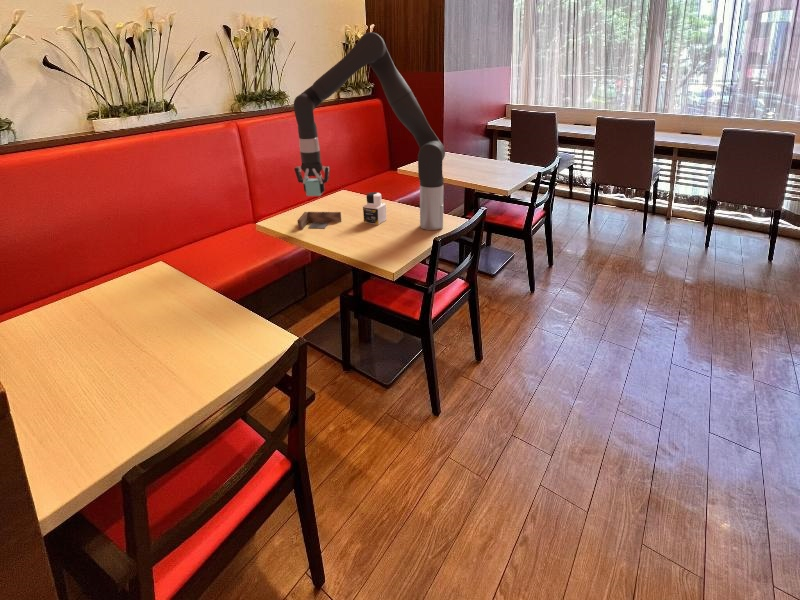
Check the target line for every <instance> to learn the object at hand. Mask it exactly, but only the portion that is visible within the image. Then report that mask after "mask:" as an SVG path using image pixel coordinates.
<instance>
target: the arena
mask: <svg viewBox="0 0 800 600" xmlns="http://www.w3.org/2000/svg"><path fill="white" fill-rule="evenodd" d="M296 221H297V228H298V230H299V231H303V230H304V228H305V227H306V226H307V224H308V223H309V222H311V224H310V225H309V226H308V229H320V230H321V229H326V228H327V226H328V225H329V222H330V223H332V222H335V223H341V222H342V212H341V211H304V212H303V213H302V214H301V216H300V217H299V218H297V220H296Z"/></svg>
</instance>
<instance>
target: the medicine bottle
mask: <svg viewBox="0 0 800 600" xmlns="http://www.w3.org/2000/svg"><path fill="white" fill-rule="evenodd" d="M362 210H363V211H362V213H363V214H362V215H363V222H364V224H370V225H375V226H376V225H378V226H379V225H381V224H382V223H384V222H385V221H386V220H387V203H384V202H383V203H382V194H381V193H380V192H377V191H373V192H368V193H366V204H365V205H362Z"/></svg>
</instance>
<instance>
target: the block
mask: <svg viewBox="0 0 800 600" xmlns="http://www.w3.org/2000/svg"><path fill="white" fill-rule="evenodd" d="M305 188H306V192H305V193H306V194H305V195H306V197H321V196H322V195H323V193H321V190H320V182H319V180H318V179H317V178H308V180H307V181H306V182H305Z"/></svg>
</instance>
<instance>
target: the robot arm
mask: <svg viewBox="0 0 800 600" xmlns="http://www.w3.org/2000/svg"><path fill="white" fill-rule="evenodd" d="M367 65H369V66H370V68H371V69H372V70H373V72H374V73H375V76H376V77H377V78H378V80H379V83H380V85H381V87H382V90H383V93H384V95H385V97H386V100H387V102H388V104H389V107H391V110H392V111H393V113H394V114H395V116H396V118H397V119H398V120H399V121H400V123H401V124H402V125H403V126H404V127H405V129H407V130H408V131H409V132H410V133H411V135H412V136H413V138H414V139H415V142H416V143H417V145H418V147H419V151H418V155H417V168H418V171H417V173H418V179H419V218H420V219H419V225H420V228H421V229H423V230H427V231H436V230H442V229H443V228H444V181H445V180H444V175H443V161H444V158H445V157H446V151H445V146H444V144H443V143H442V142H441V140H440V139H439V137H438V136H437V135H436V133H435V131H434V130H433V129H432V127H431V126H430V123H429V121H428V120H427V117H426V116H425V114H424V112H423V109H422V108H421V106H420V104H419V102H418V100H417V97H415V95H414V92H413V91H412V89H411V88H410V86H409V84H408V83H407V81H406V80H405V78H404V77H403V76H402V74H401V73H400V72H399V70H398V69H397V67H396V66H395V64H394V61H393V59H392V57H391V54H390V52H389V51H388V48H387V45H386V43H385V40H384V38H383V37H382V36H381V35H379V33H377V32H373V31H372V32H371V31H370V32H369V31H368V32H366V33H364V34H363V35H362V36H361V37H360V39H359V40H358V41H357V42H356V44H354V46H353V47H352V48H351V49H350V51H348V53H347V54H346V55H345V56H344V57H343V58H341V60H340V61H338V62H337V63H336V64H334V66H331V68H329V70H327V71H326V72H325V73H324V74H322V75H321V76H320V77H318V78H317V79H316V80H315V82H313V83H312V85H311V86H309V87H308V88H307V89H305V90H304V91H303V92H301V93H300V94H298V95H297V96H296V97H295V98H294V101H293V111H294V116H295V120H296V123H297V131H298V139H299V141H298V143H299V144H298V145H299V149H298V150H299V153H300V160H301V162H300V163H301V165H300V166H298V165H297V166H295V167H294V173H295V177H296V178H297V179H296V180H297V182H298V183H299V184H300V183H301V184H303V191H304V192H305V193H306V188H305V182H306V181H307V180H308V179H310V178H311V177H315V178H316V179H318V180H319V182H320V190H321V193H322V194H324V192H325V191H326V187H325V183H327V182H328V181H329V179H330V170H331V169H330V165H327V166H325V165H323V164H322V158H321V150H320V143H319V137H318V129H317V123H316V122H315V117H314V110H315V109H316V108H317V107H318V106H319V105H320V104H322V103H323V101H325V100H327V99H329V98H330V97H331V96H332V95H334V94H335V93H336V92H338V91H339V90H340V88H343V87H342V86H344V84H345V83H346V82H347V81H349V79H350V78H352V76H353V75H354V74H356V73H357V72H359V70H360V69H362V68H363V67H365V66H367ZM322 170H323V173H324V177H323V175H322ZM302 171H303V174H304V176H302ZM309 177H310V178H309Z"/></svg>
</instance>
